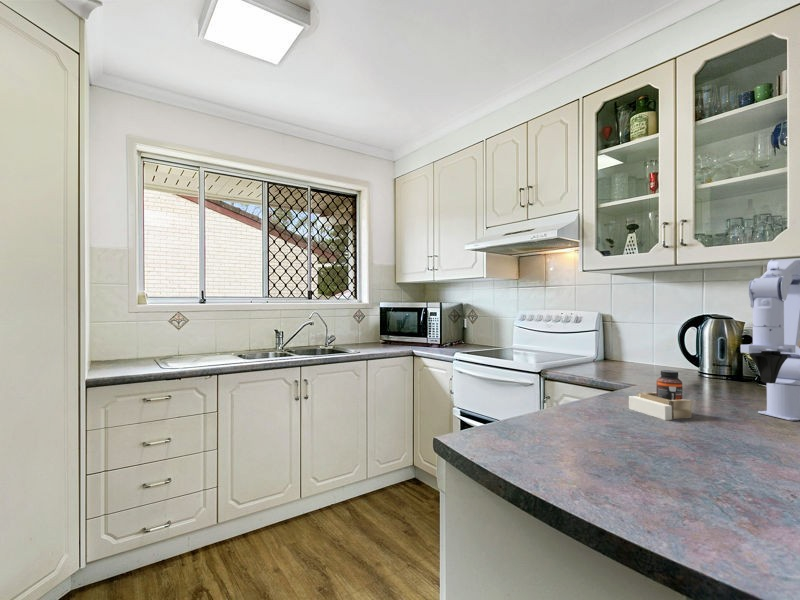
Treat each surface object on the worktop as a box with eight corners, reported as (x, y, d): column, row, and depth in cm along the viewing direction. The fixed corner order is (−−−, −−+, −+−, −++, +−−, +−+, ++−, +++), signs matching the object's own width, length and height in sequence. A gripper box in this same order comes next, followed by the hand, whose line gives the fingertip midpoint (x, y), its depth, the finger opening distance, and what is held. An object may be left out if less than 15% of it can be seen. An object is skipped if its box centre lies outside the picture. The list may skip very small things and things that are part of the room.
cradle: (657, 407, 116) (657, 392, 116) (691, 417, 106) (691, 400, 106) (637, 409, 115) (637, 392, 115) (669, 418, 105) (668, 401, 105)
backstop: (634, 408, 116) (634, 395, 116) (671, 419, 104) (671, 405, 104) (628, 408, 115) (628, 396, 115) (665, 420, 103) (665, 406, 104)
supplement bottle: (680, 416, 107) (680, 373, 107) (654, 412, 111) (653, 370, 111) (684, 412, 111) (684, 370, 112) (659, 408, 115) (659, 368, 116)
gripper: (762, 327, 94) (762, 386, 94) (810, 327, 97) (810, 384, 97) (731, 326, 101) (731, 381, 101) (777, 326, 104) (777, 379, 104)
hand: (768, 382), depth 99 cm, fingers closed
